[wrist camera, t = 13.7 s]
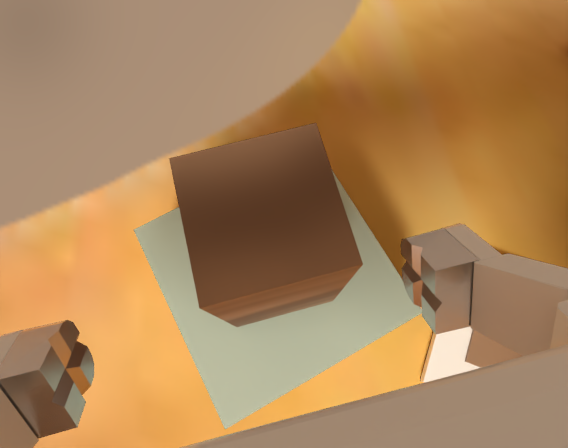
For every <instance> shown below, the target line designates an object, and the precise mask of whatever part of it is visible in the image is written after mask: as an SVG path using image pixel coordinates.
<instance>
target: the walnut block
mask: <svg viewBox="0 0 568 448" xmlns="http://www.w3.org/2000/svg"><path fill="white" fill-rule="evenodd" d="M169 159H170V164H171V169H172V174H173V179H174V184H175V189H176V194H177V199H178V204H179V209H180V214H181V219H182V224H183V229H184V234H185V239H186V244H187V249H188V254H189V259H190V264H191V269H192V274H193V279H194V284H195V289H196V294H197V299H198V304H199V308H200V309H202V310H204V311H206V312H208V313H210V314H212V315H214V316H216V317H218V318H220V319H222V320H224V321H226V322H228V323H229V324H231V325H233V326H235V327H240V326H244V325H247V324H251V323H254V322H258V321H262V320H265V319H269V318H273V317H276V316H280V315H284V314H287V313H291V312H295V311H298V310H302V309H306V308H309V307H313V306H317V305H320V304H324V303H327V302H331V301H333V300H334V299H335V298H336V297H337V296H338V294H339V293H340V292H341V291H342V289H343V288H344V287H345V286H346V285H347V283H348V282H349V281H350V280H351V278H352V277H353V276H354V275H355V274H356V272H357V271H358V270H359V269H360V267H361V266H362V265H363V262H362V259H361V256H360V253H359V250H358V247H357V244H356V241H355V238H354V235H353V232H352V229H351V226H350V223H349V220H348V217H347V214H346V211H345V208H344V205H343V202H342V199H341V196H340V193H339V190H338V187H337V184H336V181H335V178H334V175H333V172H332V169H331V166H330V163H329V160H328V157H327V154H326V151H325V148H324V145H323V142H322V139H321V136H320V133H319V130H318V127H317V124H316V123H313V124H309V125H305V126H301V127H297V128H293V129H288V130H284V131H280V132H276V133H272V134H268V135H264V136H260V137H256V138H251V139H247V140H243V141H239V142H235V143H231V144H227V145H223V146H219V147H214V148H210V149H206V150H202V151H198V152H194V153H190V154H186V155H182V156H177V157H173V158H169Z"/></svg>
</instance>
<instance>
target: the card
mask: <svg viewBox="0 0 568 448" xmlns="http://www.w3.org/2000/svg"><path fill="white" fill-rule="evenodd" d="M519 357H522V355H520V354H518V353H516V352H514V351H512V350H511V349H509V348H507V347H505V346H503V345H501V344H499V343H498V342H496V341H494V340H492V339H490V338H488V337H486V336H484V335H483V334H481V333H479V332H477V331H475V330H473V329H471V326H470V327H466V328H462V329H457V330H453V331H449V332H444V333H440V334H436V335H435V333H434V332H433V336H432V339H431V343H430V346H429V350H428V354H427V357H426V361H425V364H424V368H423V372H422V375H421V379H420V381H422V382H424V383H425V382H429V381H433V380H436V379H440V378H444V377H448V376H452V375H455V374H459V373H463V372H467V371H470V370H474V369H478V368H481V367H485V366H489V365H492V364H496V363H500V362H504V361H507V360H511V359H515V358H519Z"/></svg>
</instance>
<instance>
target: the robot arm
mask: <svg viewBox="0 0 568 448" xmlns="http://www.w3.org/2000/svg"><path fill="white" fill-rule="evenodd" d="M401 254H402V256H403V257H404V258H405V259H406V263H405V264H404V266H403V267H402V277H403V282H404V286H405V290H406V292H407V294H408V296H409V298H410V299H411V301H412V302H413V304H415V305H417V306H419V307H422V317H423V318H424V319H425V321H426V322H427V323H428V325H429V326H430V328H431V329H432V330H433V332H434V333H435V335H436V334H440V333H444V332H449V331H453V330H457V329H462V328H466V327H470V326H471V329H473V330H475V331H477V332H479V333H481V334H483V335H484V336H486V337H488V338H490V339H492V340H494V341H496V342H498V343H499V344H501V345H503V346H505V347H507V348H509V349H511V350H512V351H514V352H516V353H518V354H520V355H522V357H519V358H515V359H511V360H507V361H504V362H500V363H496V364H492V365H489V366H485V367H481V368H478V369H474V370H470V371H467V372H463V373H459V374H455V375H452V376H448V377H444V378H440V379H436V380H433V381H429V382H425V383H421V384H417V385H414V386H410V387H406V388H402V389H399V390H395V391H391V392H387V393H383V394H380V395H376V396H372V397H368V398H364V399H361V400H357V401H353V402H349V403H345V404H342V405H338V406H334V407H330V408H327V409H323V410H319V411H315V412H311V413H308V414H304V415H300V416H296V417H293V418H289V419H285V420H281V421H278V422H274V423H270V424H266V425H263V426H259V427H255V428H251V429H248V430H244V431H240V432H236V433H233V434H229V435H225V436H221V437H218V438H214V439H210V440H206V441H203V442H199V443H195V444H191V445H188V446H184V447H180V448H568V268H564V267H560V266H556V265H552V264H548V263H544V262H541V261H537V260H533V259H529V258H525V257H521V256H517V255H513V254H509V253H508V254H504V255H502V254H501V253H499V252H498V251H497V250H496V249H494V248H493V247H492V246H491V245H489V244H488V243H487V242H486V241H484V240H483V239H482V238H481V237H479V236H478V235H477V234H476V233H474V232H473V231H472V230H471V229H469V228H468V227H467V226H466V225H464V224H460V223H459V224H456V225H452V226H449V227H445V228H441V229H439V230H435V231H431V232H427V233H424V234H420V235H416V236H412V237H408V238H405V239H402V241H401ZM78 336H79V331H78V329H77V328H76V326H75V325H74V323H73V322H71V321H68V320H65V321H61V322H56V323H52V324H47V325H43V326H38V327H34V328H29V329H25V330H20V331H16V332H12V333H8V334H4V335H2V336H0V448H33V447H34V446H35V444H36V443H37V442H38V441H39V439H38V438H41V437H45V436H48V435H52V434H55V433H59V432H62V431H66V430H69V429H73V428H76V427H78V424H79V421H80V418H81V415H82V412H83V409H84V406H85V403H86V401H85V400H84V398H83V396H82V395H83V394H84V393H85V392H86V391H87V389H88V388H89V387H90V386H91V384H92V381H93V377H94V362H93V358H92V355H91V353H90V351H89V349H88V347H87V346H85V345H83V344H81V343H79V342H77V339H78Z"/></svg>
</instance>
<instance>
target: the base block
mask: <svg viewBox="0 0 568 448" xmlns="http://www.w3.org/2000/svg"><path fill="white" fill-rule="evenodd" d="M332 172H333V171H332ZM333 175H334V178H335V181H336V184H337V187H338V190H339V193H340V196H341V199H342V202H343V205H344V208H345V211H346V214H347V217H348V220H349V223H350V226H351V229H352V232H353V235H354V238H355V241H356V244H357V247H358V250H359V253H360V256H361V259H362V262H363V265H362V266H361V267H360V269H359V270H358V271H357V272H356V274H355V275H354V276H353V277H352V278H351V280H350V281H349V282H348V283H347V285H346V286H345V287H344V288H343V289H342V291H341V292H340V293H339V294H338V296H337V297H336V298H335V299H334V300H333V301H331V302H327V303H324V304H320V305H317V306H313V307H309V308H306V309H302V310H298V311H295V312H291V313H287V314H284V315H280V316H276V317H273V318H269V319H265V320H262V321H258V322H254V323H251V324H247V325H244V326H240V327H235V326H233V325H231V324H229V323H228V322H226V321H224V320H222V319H220V318H218V317H216V316H214V315H212V314H210V313H208V312H206V311H204V310H202V309H200V308H199V304H198V299H197V294H196V289H195V284H194V279H193V274H192V269H191V264H190V259H189V254H188V249H187V244H186V239H185V234H184V229H183V224H182V219H181V214H180V209H179V207H178V208H176V209H174V210H172V211H170V212H168V213H166V214H164V215H162V216H160V217H158V218H156V219H154V220H152V221H150V222H148V223H146V224H144V225H142V226H140V227H138V228H136V229H135V230H134V232H135V234H136V236H137V238H138V240H139V242H140V245H141V247H142V249H143V251H144V253H145V256H146V258H147V260H148V262H149V264H150V266H151V269H152V271H153V273H154V275H155V277H156V280H157V282H158V284H159V286H160V288H161V290H162V293H163V295H164V297H165V299H166V301H167V304H168V306H169V308H170V310H171V312H172V314H173V317H174V319H175V321H176V323H177V325H178V328H179V330H180V332H181V334H182V336H183V338H184V341H185V343H186V345H187V347H188V349H189V352H190V354H191V356H192V358H193V360H194V362H195V365H196V367H197V369H198V371H199V373H200V376H201V378H202V380H203V382H204V384H205V386H206V389H207V391H208V393H209V395H210V397H211V400H212V402H213V404H214V406H215V408H216V410H217V413H218V415H219V417H220V419H221V421H222V424H223V426H224V428H225V429H227V428H228V427H230V426H232V425H233V424H235V423H237V422H239V421H240V420H242V419H244V418H245V417H247V416H249V415H250V414H252V413H254V412H255V411H257V410H259V409H260V408H262V407H264V406H266V405H267V404H269V403H271V402H272V401H274V400H276V399H277V398H279V397H281V396H282V395H284V394H286V393H288V392H289V391H291V390H293V389H294V388H296V387H298V386H299V385H301V384H303V383H304V382H306V381H308V380H309V379H311V378H313V377H315V376H316V375H318V374H320V373H321V372H323V371H325V370H326V369H328V368H330V367H331V366H333V365H335V364H336V363H338V362H340V361H342V360H343V359H345V358H347V357H348V356H350V355H352V354H353V353H355V352H357V351H358V350H360V349H362V348H364V347H365V346H367V345H369V344H370V343H372V342H374V341H375V340H377V339H379V338H380V337H382V336H384V335H385V334H387V333H389V332H391V331H392V330H394V329H396V328H397V327H399V326H401V325H402V324H404V323H406V322H407V321H409V320H411V319H412V318H414V317H416V316H418V315H419V314H421V313H422V309H421V308H420V307H419V306H417V305H415V304H413V302H412V301H411V299H410V298H409V296H408V294H407V292H406V290H405V286H404V282H403V280H402V278H401V277H400V275H399V273H398V272H397V270H396V269H395V267H394V266H393V264H392V263H391V261H390V259H389V258H388V256H387V255H386V253H385V252H384V250H383V249H382V247H381V245H380V244H379V242H378V241H377V239H376V238H375V236H374V235H373V233H372V231H371V230H370V228H369V227H368V225H367V224H366V222H365V221H364V219H363V217H362V216H361V214H360V213H359V211H358V210H357V208H356V207H355V205H354V203H353V202H352V200H351V199H350V197H349V196H348V194H347V192H346V191H345V189H344V188H343V186H342V185H341V183H340V182H339V180H338V178H337V177H336V175H335V174H334V172H333Z"/></svg>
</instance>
